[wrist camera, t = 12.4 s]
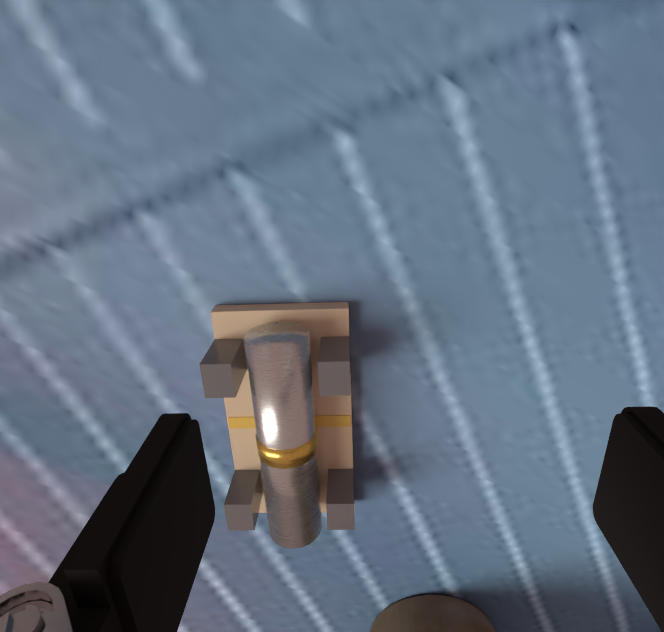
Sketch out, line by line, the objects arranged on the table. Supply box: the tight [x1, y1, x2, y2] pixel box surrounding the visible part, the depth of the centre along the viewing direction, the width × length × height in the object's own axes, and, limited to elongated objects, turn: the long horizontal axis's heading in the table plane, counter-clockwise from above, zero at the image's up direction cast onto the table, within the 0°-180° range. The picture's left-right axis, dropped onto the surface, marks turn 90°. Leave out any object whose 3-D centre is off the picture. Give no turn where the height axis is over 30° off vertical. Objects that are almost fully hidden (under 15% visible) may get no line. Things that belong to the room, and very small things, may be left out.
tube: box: [244, 321, 322, 548], centre depth 40 cm, size 20×5×5 cm, turn 2°
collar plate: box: [200, 302, 355, 530], centre depth 41 cm, size 11×22×6 cm, turn 2°
